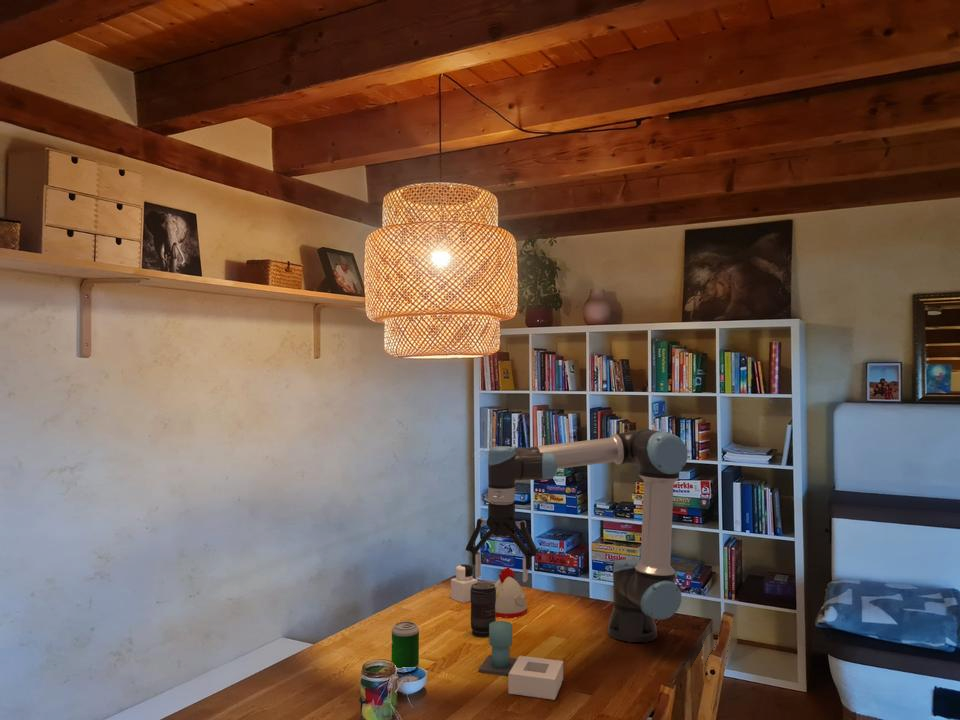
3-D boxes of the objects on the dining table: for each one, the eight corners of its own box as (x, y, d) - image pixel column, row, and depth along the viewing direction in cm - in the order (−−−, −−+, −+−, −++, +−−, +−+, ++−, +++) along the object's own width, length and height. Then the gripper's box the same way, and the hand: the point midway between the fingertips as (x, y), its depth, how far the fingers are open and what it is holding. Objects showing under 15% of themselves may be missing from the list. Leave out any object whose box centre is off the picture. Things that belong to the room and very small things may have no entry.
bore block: (563, 679, 188) (563, 661, 188) (554, 699, 176) (554, 679, 176) (519, 674, 191) (519, 655, 191) (508, 693, 180) (508, 673, 180)
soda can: (424, 668, 195) (424, 624, 195) (404, 677, 189) (404, 632, 189) (406, 661, 200) (406, 618, 200) (385, 669, 194) (386, 625, 194)
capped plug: (514, 661, 198) (514, 622, 198) (508, 671, 191) (509, 630, 192) (492, 658, 199) (493, 619, 200) (486, 667, 193) (486, 627, 193)
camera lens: (496, 629, 225) (497, 581, 225) (494, 638, 217) (495, 589, 217) (471, 628, 226) (471, 581, 226) (468, 637, 218) (469, 588, 218)
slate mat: (522, 662, 199) (522, 659, 199) (514, 676, 190) (514, 673, 190) (488, 657, 202) (488, 655, 202) (478, 672, 193) (478, 669, 193)
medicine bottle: (465, 594, 260) (465, 561, 260) (478, 599, 254) (478, 566, 255) (450, 598, 255) (450, 565, 255) (462, 603, 250) (462, 569, 250)
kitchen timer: (478, 612, 241) (478, 568, 241) (501, 602, 252) (502, 560, 252) (512, 621, 232) (512, 575, 232) (534, 610, 243) (534, 566, 243)
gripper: (454, 502, 197) (454, 578, 196) (542, 507, 190) (542, 586, 189) (463, 497, 204) (463, 571, 204) (548, 502, 197) (548, 578, 196)
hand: (501, 578), depth 196 cm, fingers open, 13 cm apart
